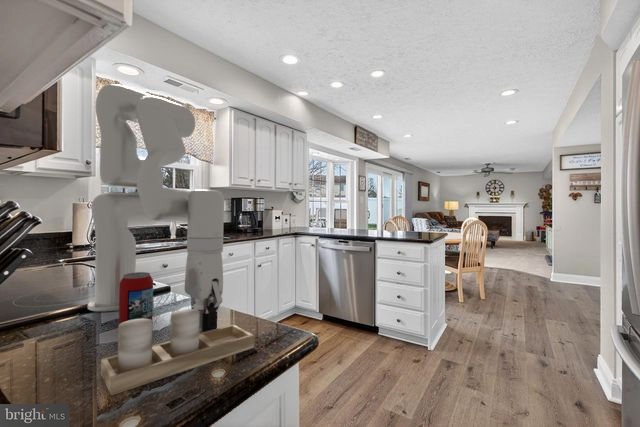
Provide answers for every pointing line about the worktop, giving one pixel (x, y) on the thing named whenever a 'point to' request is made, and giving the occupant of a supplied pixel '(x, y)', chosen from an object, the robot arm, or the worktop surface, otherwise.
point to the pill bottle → (200, 307)
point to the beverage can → (136, 297)
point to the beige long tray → (168, 350)
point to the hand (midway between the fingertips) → (204, 326)
